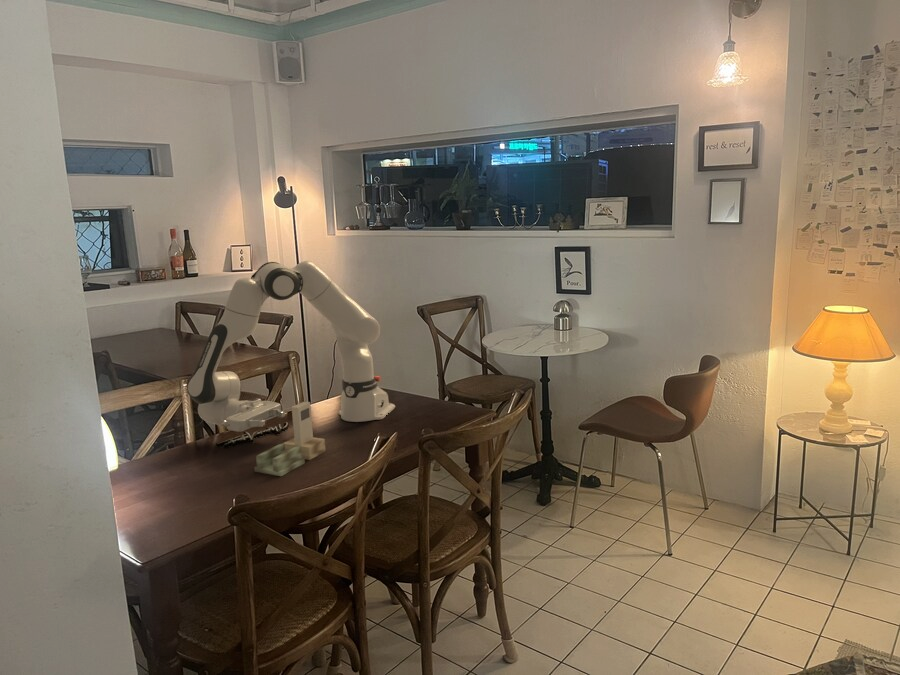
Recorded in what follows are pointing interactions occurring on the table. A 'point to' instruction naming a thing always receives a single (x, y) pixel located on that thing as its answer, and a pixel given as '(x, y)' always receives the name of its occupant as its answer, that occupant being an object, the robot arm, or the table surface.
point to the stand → (308, 447)
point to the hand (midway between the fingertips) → (273, 419)
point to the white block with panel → (302, 423)
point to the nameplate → (248, 436)
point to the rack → (279, 460)
